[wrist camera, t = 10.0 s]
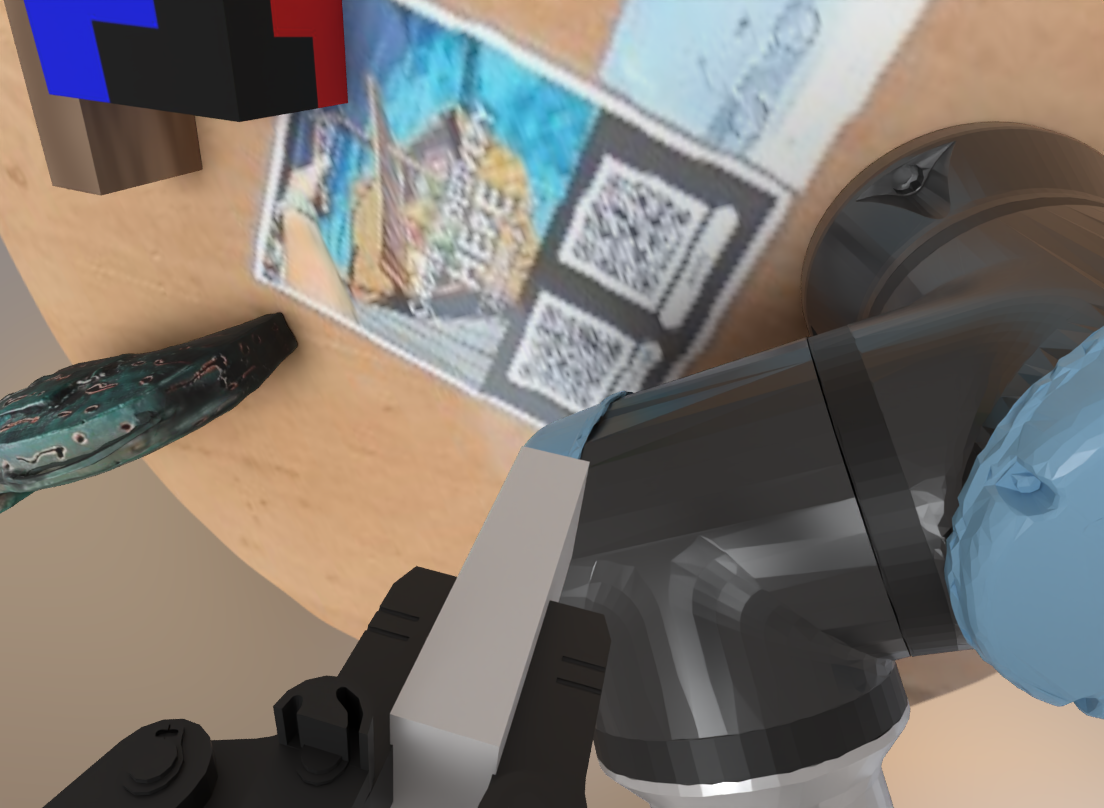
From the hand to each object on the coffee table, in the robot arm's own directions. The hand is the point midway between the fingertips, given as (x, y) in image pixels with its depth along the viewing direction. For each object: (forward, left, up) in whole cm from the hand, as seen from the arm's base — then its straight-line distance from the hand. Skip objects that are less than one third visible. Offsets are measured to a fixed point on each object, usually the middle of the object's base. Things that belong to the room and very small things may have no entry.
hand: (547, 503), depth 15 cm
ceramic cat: (+32, +16, -27) cm, 45 cm away
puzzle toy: (+24, -8, -27) cm, 37 cm away
